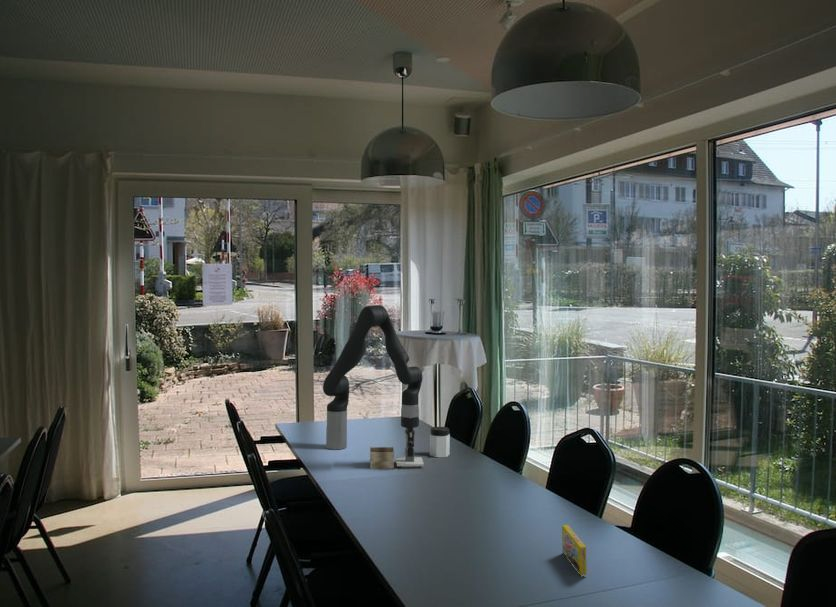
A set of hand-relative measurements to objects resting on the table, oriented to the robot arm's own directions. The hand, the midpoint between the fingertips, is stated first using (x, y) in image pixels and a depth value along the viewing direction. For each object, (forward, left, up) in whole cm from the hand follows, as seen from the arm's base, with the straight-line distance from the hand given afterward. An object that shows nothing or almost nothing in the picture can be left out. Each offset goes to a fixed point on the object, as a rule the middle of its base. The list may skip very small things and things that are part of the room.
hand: (409, 453), depth 288 cm
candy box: (+39, -102, -6) cm, 109 cm away
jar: (+15, +18, -6) cm, 24 cm away
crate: (-11, 0, -5) cm, 13 cm away
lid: (0, 0, -5) cm, 5 cm away
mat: (0, 0, -5) cm, 5 cm away
